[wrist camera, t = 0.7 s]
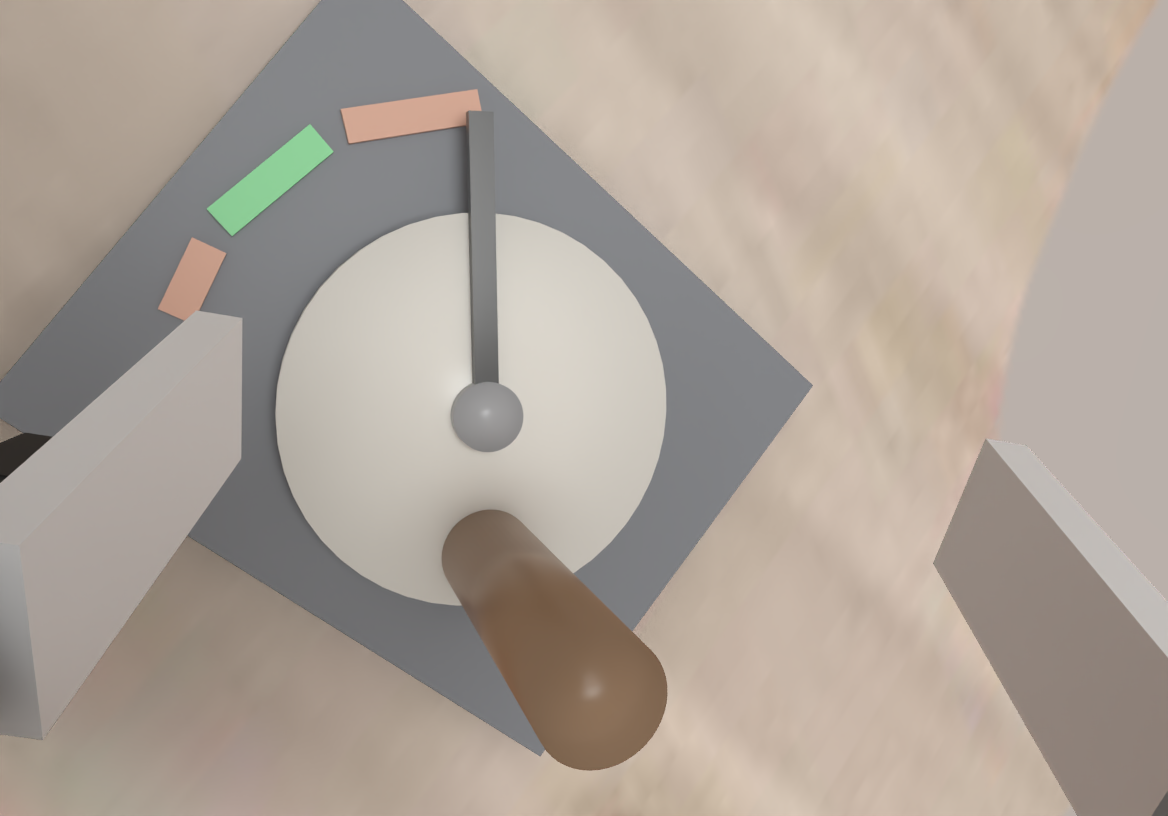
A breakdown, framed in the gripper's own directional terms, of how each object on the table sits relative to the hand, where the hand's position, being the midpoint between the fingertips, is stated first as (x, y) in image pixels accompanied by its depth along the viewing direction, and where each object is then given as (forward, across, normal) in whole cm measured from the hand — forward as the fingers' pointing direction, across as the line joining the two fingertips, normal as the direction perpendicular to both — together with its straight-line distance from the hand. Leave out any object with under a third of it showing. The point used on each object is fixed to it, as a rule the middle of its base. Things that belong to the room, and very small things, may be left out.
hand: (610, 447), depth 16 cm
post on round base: (+18, -3, -8) cm, 20 cm away
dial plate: (+19, -4, -9) cm, 21 cm away
